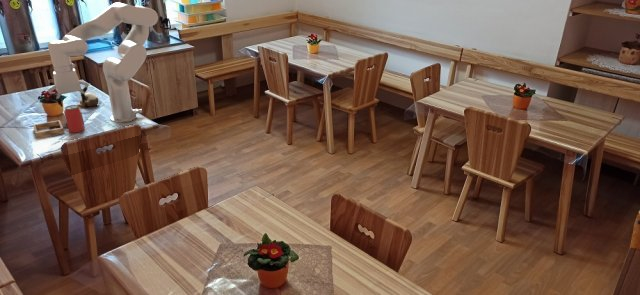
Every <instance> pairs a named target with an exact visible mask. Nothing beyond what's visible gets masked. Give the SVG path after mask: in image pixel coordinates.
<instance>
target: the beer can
mask: <svg viewBox="0 0 640 295" xmlns="http://www.w3.org/2000/svg"><path fill="white" fill-rule="evenodd" d="M77 105H78V104H77ZM77 105H76V104H71V105H67V106H65V107H64V110H65V114H64V117H65V116H66V118H65V121H66V120H67V123H66V125H67V129H69V132H72V133H77V132H81V131H83V129H84V126H85V125H83V122H82V117H81V112H82V111H81V112H80V110H81V109H79V108H78V106H77Z"/></svg>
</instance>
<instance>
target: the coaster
mask: <svg viewBox="0 0 640 295" xmlns="http://www.w3.org/2000/svg"><path fill="white" fill-rule="evenodd" d="M83 126H84V129H83V131H81V132H77V133H72V132H69V129H68V128H66V129H64V132H65V134H66V136H67V137H71V136H74V135H75V136H76V135H80V134H85V133H88V132H89V130H88V129H87V127H86V126H85V125H83Z"/></svg>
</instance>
